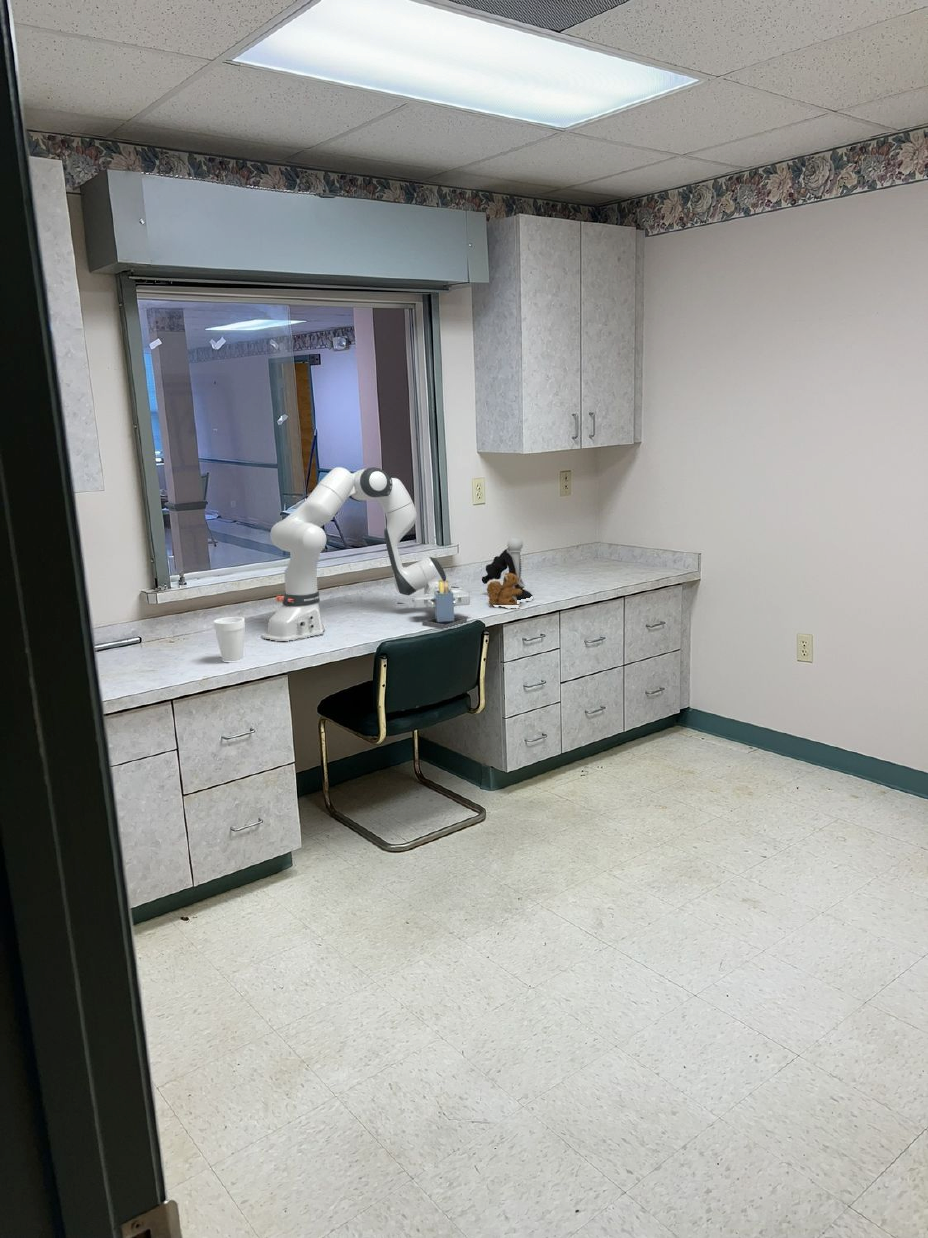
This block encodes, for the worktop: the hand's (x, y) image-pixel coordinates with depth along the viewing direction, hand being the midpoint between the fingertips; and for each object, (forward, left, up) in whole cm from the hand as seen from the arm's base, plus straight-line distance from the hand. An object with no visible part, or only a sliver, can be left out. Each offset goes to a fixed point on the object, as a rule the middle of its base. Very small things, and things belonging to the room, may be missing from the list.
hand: (444, 604), depth 324 cm
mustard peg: (-1, 0, -5) cm, 5 cm away
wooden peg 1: (+1, +2, -5) cm, 5 cm away
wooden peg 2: (+1, 0, -5) cm, 5 cm away
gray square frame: (0, +1, -8) cm, 8 cm away
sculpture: (+51, +13, -8) cm, 53 cm away
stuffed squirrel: (+38, +3, -8) cm, 39 cm away
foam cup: (-72, +26, -8) cm, 76 cm away
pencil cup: (+1, +1, -6) cm, 6 cm away
